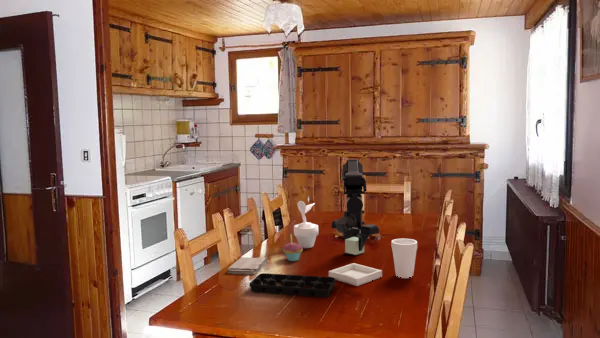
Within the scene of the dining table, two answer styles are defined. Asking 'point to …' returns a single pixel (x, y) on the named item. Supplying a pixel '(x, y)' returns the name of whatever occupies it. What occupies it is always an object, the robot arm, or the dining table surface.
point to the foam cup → (404, 256)
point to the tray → (355, 274)
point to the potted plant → (305, 227)
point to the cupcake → (292, 250)
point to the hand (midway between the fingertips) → (354, 249)
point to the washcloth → (247, 266)
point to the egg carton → (293, 285)
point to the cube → (352, 246)
